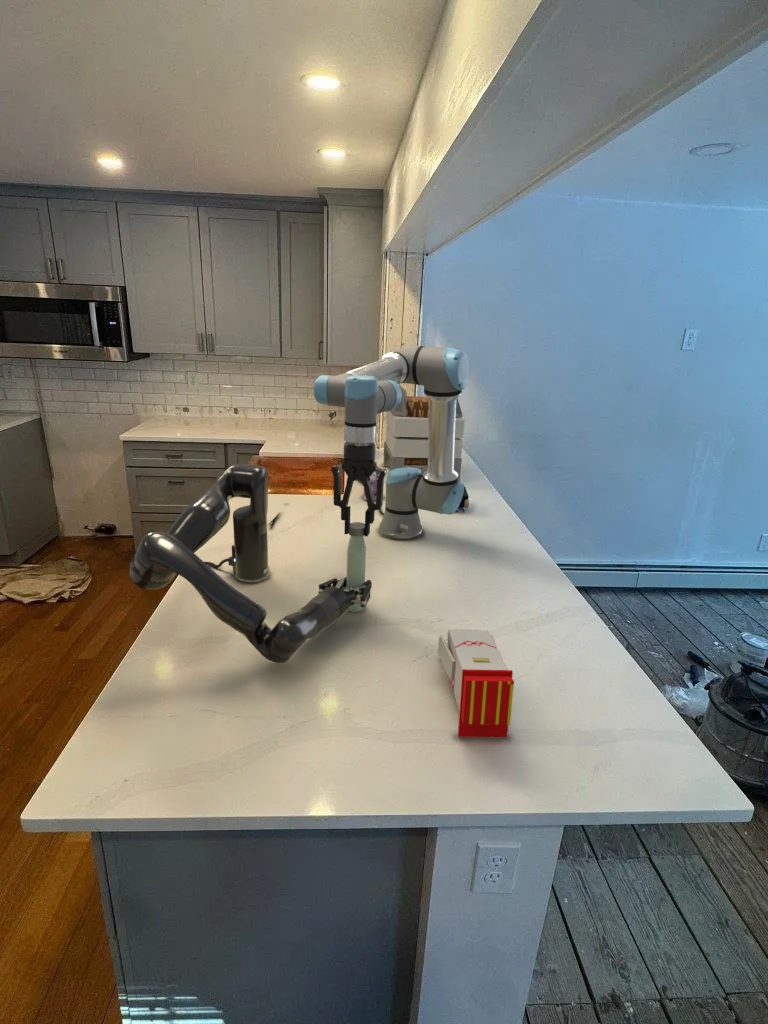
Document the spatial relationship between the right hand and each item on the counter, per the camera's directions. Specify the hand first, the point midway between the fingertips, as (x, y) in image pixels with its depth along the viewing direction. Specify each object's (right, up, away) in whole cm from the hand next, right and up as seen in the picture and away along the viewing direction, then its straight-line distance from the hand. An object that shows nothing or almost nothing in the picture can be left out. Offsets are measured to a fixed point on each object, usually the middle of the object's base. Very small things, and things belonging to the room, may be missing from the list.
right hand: (357, 533), depth 143 cm
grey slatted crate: (+24, +24, +132) cm, 137 cm away
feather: (-33, +4, +69) cm, 76 cm away
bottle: (-1, -20, +7) cm, 21 cm away
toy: (+25, -32, -24) cm, 47 cm away
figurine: (+2, +11, +93) cm, 94 cm away
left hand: (+1, -13, +7) cm, 15 cm away
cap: (0, +2, -1) cm, 2 cm away
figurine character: (+37, +7, +86) cm, 94 cm away
